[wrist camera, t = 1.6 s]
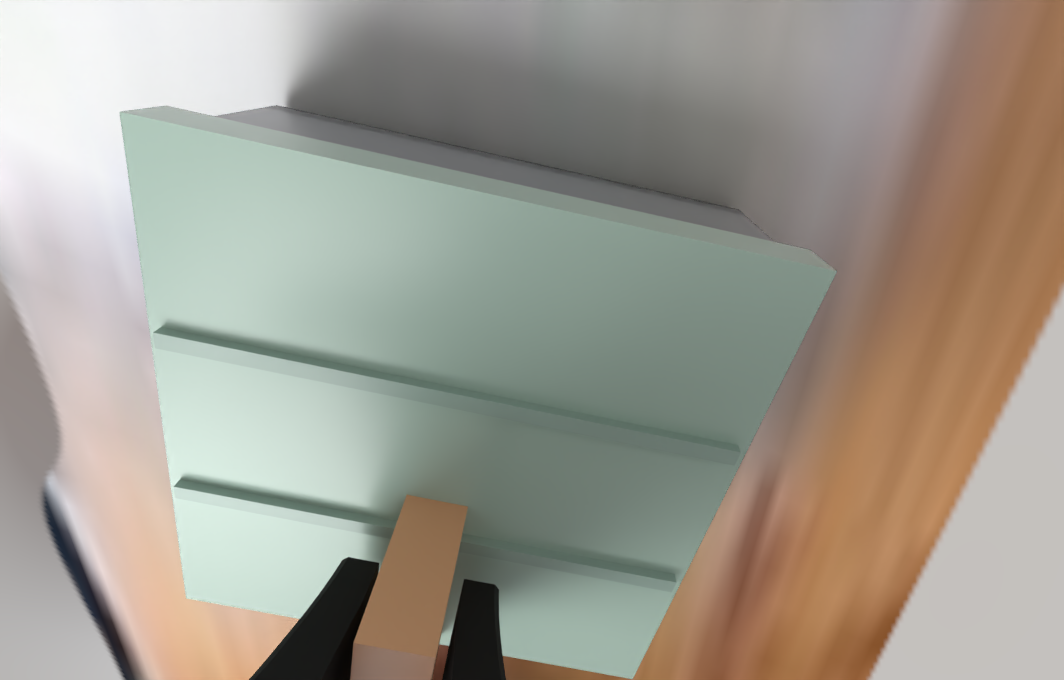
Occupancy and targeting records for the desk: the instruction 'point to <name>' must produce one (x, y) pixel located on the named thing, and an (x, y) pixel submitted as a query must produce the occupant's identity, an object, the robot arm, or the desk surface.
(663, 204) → the tub
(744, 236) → the lid
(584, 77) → the desk surface
